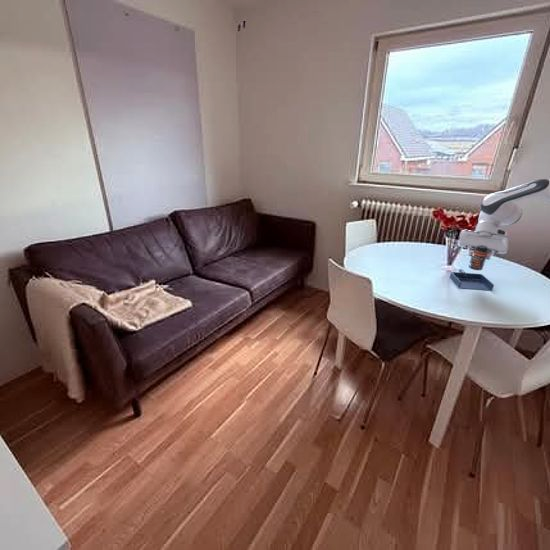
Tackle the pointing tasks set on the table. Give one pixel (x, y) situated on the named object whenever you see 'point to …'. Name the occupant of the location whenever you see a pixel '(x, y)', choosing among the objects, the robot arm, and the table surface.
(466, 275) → the blue tray
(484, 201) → the robot arm
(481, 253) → the supplement bottle
